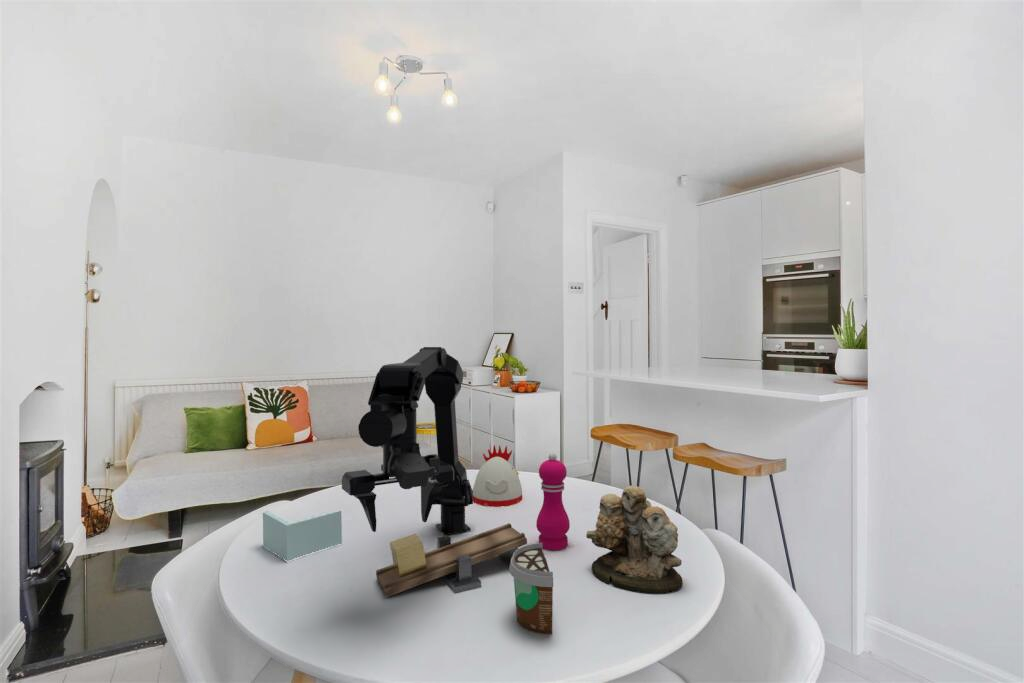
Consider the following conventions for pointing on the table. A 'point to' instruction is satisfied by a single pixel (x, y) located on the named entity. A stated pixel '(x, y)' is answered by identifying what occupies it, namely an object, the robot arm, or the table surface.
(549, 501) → the pepper mill
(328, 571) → the table surface
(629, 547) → the owl figurine
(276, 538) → the right angle wall
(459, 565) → the stand
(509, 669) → the table surface
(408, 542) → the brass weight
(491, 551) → the balance beam
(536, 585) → the food container
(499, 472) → the kitchen timer
